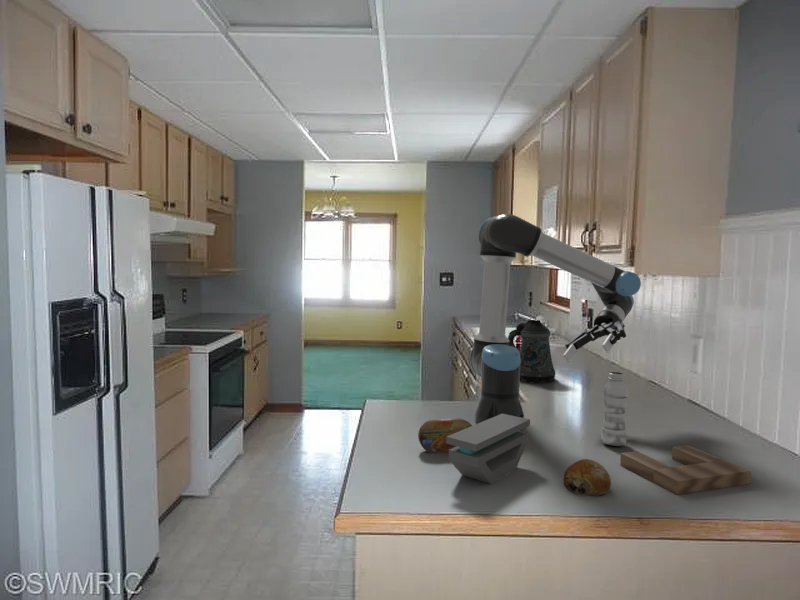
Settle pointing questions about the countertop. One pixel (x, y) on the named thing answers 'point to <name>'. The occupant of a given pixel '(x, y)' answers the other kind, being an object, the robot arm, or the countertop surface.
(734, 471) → the notched board
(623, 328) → the robot arm
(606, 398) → the plastic bottle
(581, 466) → the bread roll
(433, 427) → the tin
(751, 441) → the countertop surface
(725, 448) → the countertop surface
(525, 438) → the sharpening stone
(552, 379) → the beer stein
